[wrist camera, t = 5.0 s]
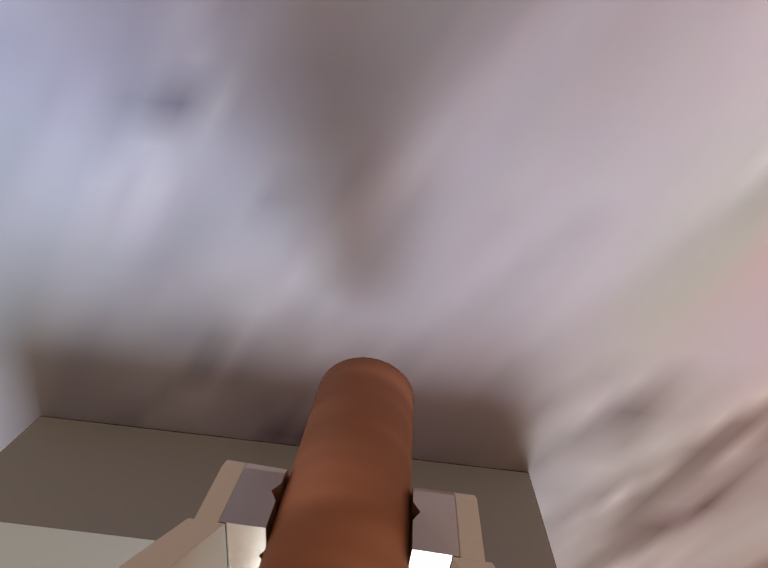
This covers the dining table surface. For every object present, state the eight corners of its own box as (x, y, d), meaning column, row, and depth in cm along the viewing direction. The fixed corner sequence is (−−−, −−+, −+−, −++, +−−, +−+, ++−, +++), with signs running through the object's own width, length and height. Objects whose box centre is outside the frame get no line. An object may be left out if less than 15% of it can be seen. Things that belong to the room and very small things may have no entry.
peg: (419, 364, 13) (414, 950, 4) (406, 440, 15) (382, 1015, 6) (321, 351, 14) (117, 899, 4) (316, 427, 15) (150, 977, 6)
